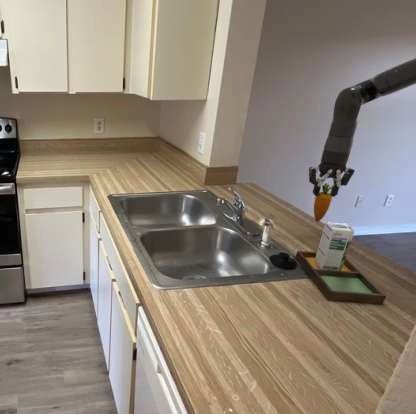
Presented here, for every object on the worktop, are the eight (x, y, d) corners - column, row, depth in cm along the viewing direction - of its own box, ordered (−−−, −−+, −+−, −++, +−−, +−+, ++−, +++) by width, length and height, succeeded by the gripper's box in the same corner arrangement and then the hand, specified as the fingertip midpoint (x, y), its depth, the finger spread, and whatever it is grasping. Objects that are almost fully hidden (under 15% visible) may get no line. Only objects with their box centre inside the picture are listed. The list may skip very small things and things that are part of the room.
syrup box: (320, 270, 104) (333, 229, 98) (313, 260, 109) (325, 220, 103) (341, 272, 103) (355, 231, 97) (333, 262, 108) (346, 222, 102)
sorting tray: (339, 260, 111) (342, 253, 109) (382, 304, 91) (386, 296, 89) (295, 257, 112) (297, 250, 111) (327, 299, 92) (330, 291, 91)
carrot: (312, 217, 126) (322, 180, 120) (327, 221, 122) (337, 183, 116) (307, 221, 123) (316, 183, 117) (322, 225, 119) (332, 186, 113)
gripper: (319, 151, 109) (307, 198, 116) (367, 151, 107) (351, 200, 114) (309, 146, 116) (298, 191, 123) (353, 146, 114) (340, 192, 121)
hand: (324, 195), depth 118 cm, fingers closed on carrot, 5 cm apart
